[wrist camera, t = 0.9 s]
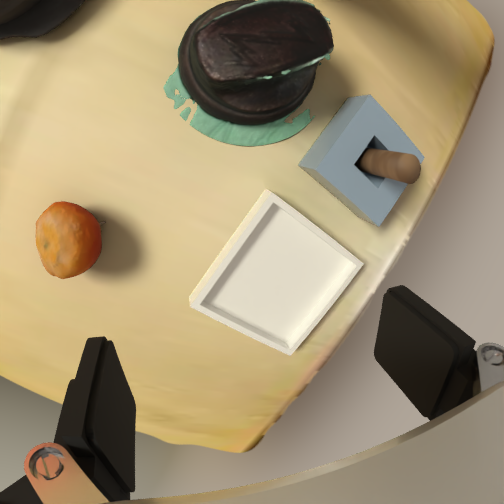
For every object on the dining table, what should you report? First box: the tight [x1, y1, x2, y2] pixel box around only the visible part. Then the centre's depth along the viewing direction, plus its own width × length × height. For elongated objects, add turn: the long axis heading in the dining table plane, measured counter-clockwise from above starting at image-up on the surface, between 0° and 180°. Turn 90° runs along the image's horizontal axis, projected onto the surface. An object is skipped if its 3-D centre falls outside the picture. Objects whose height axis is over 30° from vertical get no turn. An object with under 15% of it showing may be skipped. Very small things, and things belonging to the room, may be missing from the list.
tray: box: [189, 189, 364, 356], centre depth 40 cm, size 16×16×2 cm
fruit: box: [36, 201, 106, 279], centre depth 31 cm, size 8×8×8 cm
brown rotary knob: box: [164, 0, 334, 146], centre depth 27 cm, size 20×20×9 cm
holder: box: [298, 95, 425, 227], centre depth 36 cm, size 11×11×5 cm
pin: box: [354, 148, 421, 184], centre depth 33 cm, size 3×3×10 cm
